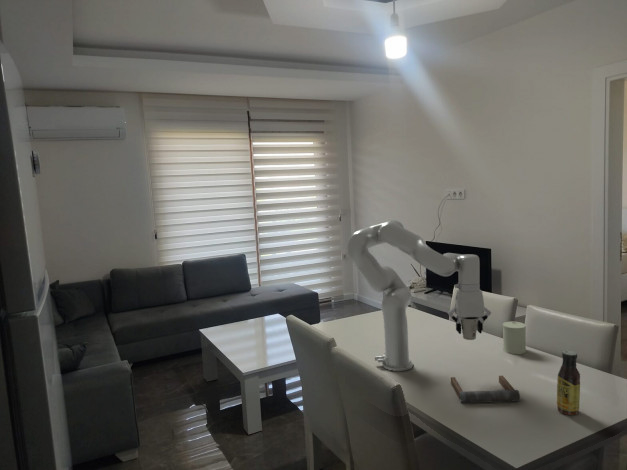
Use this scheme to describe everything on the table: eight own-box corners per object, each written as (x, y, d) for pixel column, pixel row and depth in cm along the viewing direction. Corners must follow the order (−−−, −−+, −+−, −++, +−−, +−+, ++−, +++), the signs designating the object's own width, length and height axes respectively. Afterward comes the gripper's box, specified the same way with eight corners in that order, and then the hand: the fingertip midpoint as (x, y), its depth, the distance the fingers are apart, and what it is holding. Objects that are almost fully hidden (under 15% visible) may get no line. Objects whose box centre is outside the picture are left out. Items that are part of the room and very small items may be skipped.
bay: (462, 404, 148) (462, 394, 148) (450, 383, 164) (450, 374, 164) (520, 403, 147) (520, 392, 147) (503, 382, 163) (502, 372, 162)
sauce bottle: (552, 407, 143) (552, 348, 141) (570, 405, 144) (570, 347, 141) (565, 418, 137) (565, 356, 134) (584, 415, 137) (585, 354, 135)
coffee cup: (480, 341, 165) (480, 315, 164) (461, 340, 166) (460, 315, 165) (477, 334, 172) (477, 310, 170) (458, 334, 173) (458, 309, 172)
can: (524, 347, 194) (524, 320, 193) (527, 355, 186) (527, 327, 184) (502, 345, 197) (501, 319, 196) (503, 353, 189) (503, 326, 187)
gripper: (448, 290, 163) (448, 336, 165) (495, 288, 162) (495, 335, 164) (443, 285, 171) (444, 329, 173) (489, 284, 170) (489, 328, 172)
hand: (469, 332), depth 169 cm, fingers closed on coffee cup, 7 cm apart
